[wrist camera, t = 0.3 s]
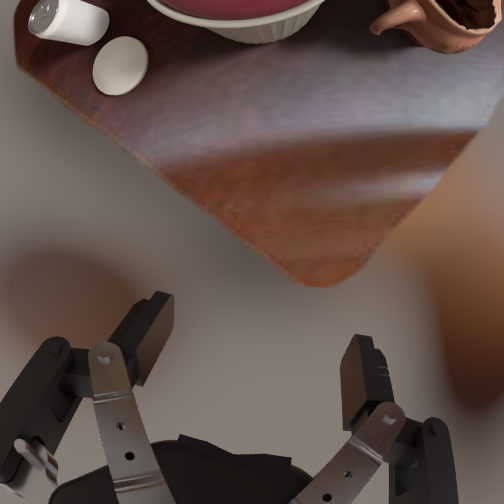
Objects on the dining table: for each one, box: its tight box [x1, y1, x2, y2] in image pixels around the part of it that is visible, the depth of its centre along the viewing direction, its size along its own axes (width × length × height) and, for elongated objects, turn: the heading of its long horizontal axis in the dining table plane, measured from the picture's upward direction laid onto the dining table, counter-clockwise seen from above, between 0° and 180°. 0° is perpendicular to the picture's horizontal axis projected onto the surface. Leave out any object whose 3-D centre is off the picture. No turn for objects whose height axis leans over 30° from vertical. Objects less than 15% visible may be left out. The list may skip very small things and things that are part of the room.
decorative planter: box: [369, 0, 502, 54], centre depth 20 cm, size 20×12×14 cm, turn 131°
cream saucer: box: [93, 36, 149, 95], centre depth 33 cm, size 9×9×1 cm
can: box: [28, 0, 109, 46], centre depth 25 cm, size 6×6×12 cm
